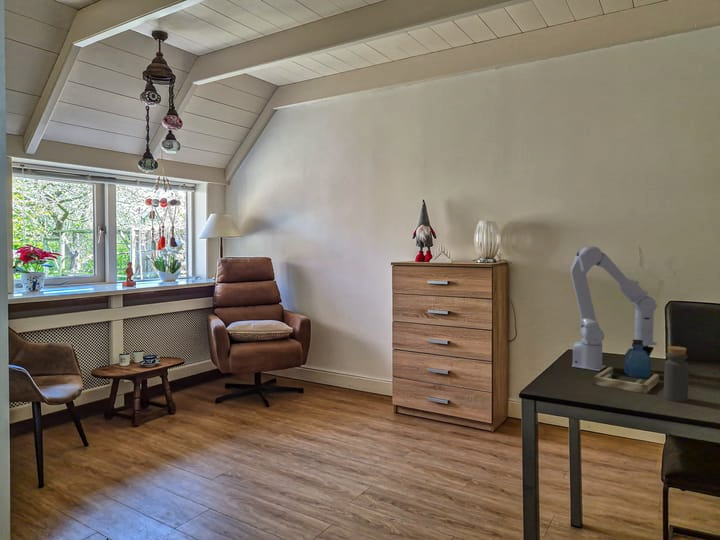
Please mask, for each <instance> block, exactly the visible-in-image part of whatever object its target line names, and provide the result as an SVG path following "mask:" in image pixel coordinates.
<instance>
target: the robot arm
mask: <svg viewBox="0 0 720 540" xmlns="http://www.w3.org/2000/svg"><path fill="white" fill-rule="evenodd" d="M594 266H597V267H599V268H602V269H603V270H605V271H606V273H608V274H609V275H610V276H611V277H612V278H613V280H614V281H616V282H617V283H618V290H619V291H620V292H621V293H622V294H623V295H624V296H625V297H626V298H627V300H629V301H630V302H631V303H632V305H633V308H635V315H634V340H643V343H642V344H644V346H643V348H642V349H643V350H644V351H646V352H647V354H648V356H649V358H651V357H650V356H651V355H652V352H653V351H654V347H653V346H657V345H658V342H656V341H654V324H655V323H654V319H655V317H654V312H655V311H656V309H657V307H658V304H657V303H656V300H655V299H654V298H653V297H651V296H649V292H648V291H647V290H644V288H642V287H641V286H640V282H639V281H638V280H634V279H633V278H628V277H627V276H626V275H625V274H624V273H623V272H622V270H620V269H619V267H618V266H617V265H616V264H615V263H614V262H613V260H612V259H611V258H610V257H609V256H608V255H607V254H606V253H605V252H603V251H602V250H601V249H600V248H599V247H597V246H589V245H588V246H587V245H586V246H583V247H581V248H580V249H578V251H577V252H576V253H575V256H574V259H573V262H572V265H571V268H570V270H569V271H570V276H571V281H572V286H573V291H574V295H575V298H576V302H577V307H578V312H579V316H580V319H579V320H580V321H579V322H580V323H579V324H580V329H579V333H580V336H581V339H580V341H575V342H574V344H573V346H572V347H573V348H572V365H571V368H578V369H584V370H585V369H586V370H591V371H597V372H600V371H601V370H603V369H604V368H606V366H607V365H603V341H604V338H605V333H604V330H602V329H601V328H600V324H599V321H598V319H597V317H596V312H595V309H594V304H593V299H592V296H591V292H590V287H589V284H588V283H589V282H588V279H587V273H588V272H589V271H590V270H591V269H592V267H594Z"/></svg>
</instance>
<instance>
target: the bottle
mask: <svg viewBox="0 0 720 540" xmlns="http://www.w3.org/2000/svg"><path fill="white" fill-rule="evenodd" d="M686 353H687V348H686V347H684V346H683V347H682V346H677V345H675V346H674V345H673V346H672V345H671V346H670V345H669V346H667V352H666V353H665V355H666V357H667V358H668V359H667V360H666V361H664V373H663V374H664V375H663V376H664V377H663V398H664V399H665V400H668V401H673V402H679V403H683V402H687V401H688V398H689V397H688V396H689V365H690V364H689V363H688V362H687V361H686V359H688V354H686Z"/></svg>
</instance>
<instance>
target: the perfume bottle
mask: <svg viewBox="0 0 720 540" xmlns="http://www.w3.org/2000/svg"><path fill="white" fill-rule="evenodd" d="M642 343H643V340H635V339H632V343H631V347H632V348H629V349H628V350H627V351H626V353H624V368H623V372H624V373H625V374H626V376H629V377H630V378H648V379H650V378H651V366H652V365H651V363H652V361H651V357H649V356H648V354H647V352H646V351H644V350H643V349H642V348H643V346H644V344H642Z"/></svg>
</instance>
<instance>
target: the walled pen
mask: <svg viewBox="0 0 720 540" xmlns="http://www.w3.org/2000/svg"><path fill="white" fill-rule="evenodd" d="M613 375H614V368H613V367H611V366H609V367H607V368H606V369H604V370H603V371H601V372H599V373H597V374H596V375H595V376H593V385H595V386H601V387H606V388H611V389H618V390H624V391H629V392H636V393H641V394H648V393H649V392H650V391H651V390H652V389H653V388H654V387H655V386H656V385H657V384H658V383H659V381H660V380H659V379H660V374H657V373H654V374H652V375H651V376H650V378H648V379H647V380H646V381H645V382H643V379H641V378H638V379H637V380H636V381H635V382H632V381H626V380H620V379H615V378H612V376H613Z"/></svg>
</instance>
